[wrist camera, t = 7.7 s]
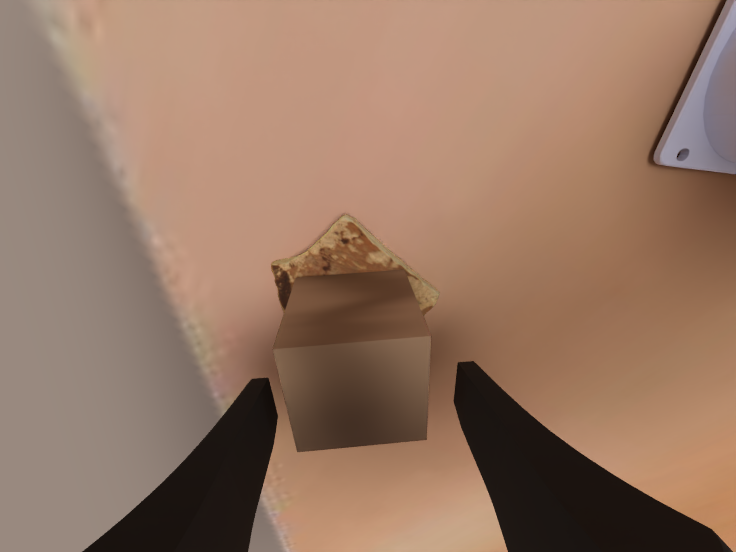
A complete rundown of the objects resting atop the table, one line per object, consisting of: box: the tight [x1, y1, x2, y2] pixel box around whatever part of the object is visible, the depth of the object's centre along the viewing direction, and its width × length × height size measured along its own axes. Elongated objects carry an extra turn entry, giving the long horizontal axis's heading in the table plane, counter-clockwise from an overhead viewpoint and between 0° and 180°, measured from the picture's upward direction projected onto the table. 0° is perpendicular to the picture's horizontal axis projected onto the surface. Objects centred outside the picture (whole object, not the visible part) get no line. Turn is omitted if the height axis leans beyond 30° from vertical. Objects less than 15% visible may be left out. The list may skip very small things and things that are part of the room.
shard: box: [271, 215, 439, 315], centre depth 16 cm, size 11×8×2 cm
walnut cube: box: [273, 269, 431, 452], centre depth 13 cm, size 5×5×5 cm
